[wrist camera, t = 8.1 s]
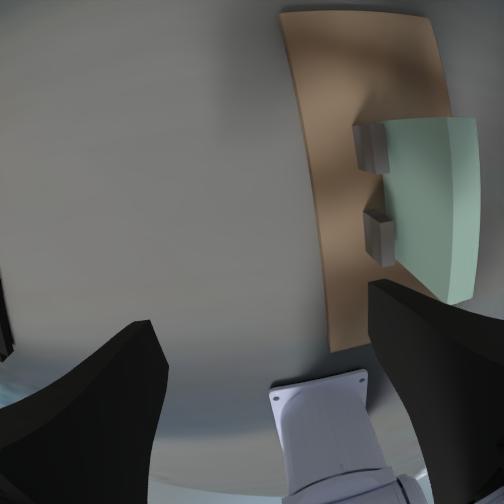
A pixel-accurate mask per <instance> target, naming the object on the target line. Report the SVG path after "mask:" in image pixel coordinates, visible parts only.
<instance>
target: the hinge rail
mask: <svg viewBox="0 0 504 504" xmlns="http://www.w3.org/2000/svg"><path fill="white" fill-rule="evenodd" d="M278 20H279V24H280V28H281V32H282V36H283V40H284V45H285V49H286V53H287V57H288V62H289V66H290V71H291V75H292V80H293V85H294V90H295V95H296V100H297V105H298V110H299V115H300V120H301V126H302V131H303V137H304V142H305V148H306V154H307V160H308V166H309V172H310V179H311V185H312V192H313V199H314V206H315V213H316V221H317V229H318V237H319V245H320V254H321V263H322V272H323V282H324V292H325V303H326V315H327V328H328V342H329V348H330V351H331V353H332V352H336V351H341V350H345V349H349V348H353V347H357V346H361V345H365V344H369V343H371V340H370V338H369V335H368V282H371V281H375V280H380V279H384V278H385V279H388V280H391V281H394V282H396V283H399V284H401V285H404V286H406V287H408V288H410V289H413V290H415V291H417V292H420V293H422V294H424V295H426V296H429V297H431V298H434V299H436V300H438V301H440V300H439V299H438V298H437V297H436V296H435V295H434V294H433V293H432V292H431V291H430V290H429V289H428V288H427V287H426V286H425V285H424V284H423V283H421V282H420V281H419V280H418V279H417V278H416V277H415V276H414V275H413V274H412V273H411V272H409V271H408V270H407V269H406V268H405V267H404V266H403V265H402V264H401V263H399V262H398V261H397V260H396V259H395V243H394V221H393V220H392V219H390V218H388V217H387V216H386V209H385V195H384V184H383V174H385V173H390V166H389V157H388V149H387V141H386V134H385V127H384V123H379V124H376V121H387V120H399V119H413V118H432V117H451V110H450V104H449V98H448V92H447V87H446V81H445V77H444V72H443V67H442V63H441V59H440V55H439V51H438V47H437V43H436V39H435V36H434V32H433V29H432V26H431V22H430V19H429V18H425V17H419V16H412V15H404V14H395V13H385V12H371V11H345V10H326V11H300V12H286V13H279V16H278Z"/></svg>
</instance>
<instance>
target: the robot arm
mask: <svg viewBox="0 0 504 504" xmlns="http://www.w3.org/2000/svg"><path fill="white" fill-rule="evenodd" d="M368 335H369V338H370V340H371V343H372V346H373V348H374V351H375V353H376V355H377V358H378V359H379V361H380V363H381V365H382V367H383V368H384V370H385V372H386V374H387V375H388V377H389V379H390V381H391V382H392V384H393V386H394V388H395V390H396V391H397V393H398V395H399V397H400V399H401V400H402V402H403V404H404V406H405V408H406V410H407V412H408V414H409V417H410V420H411V422H412V425H413V428H414V430H415V433H416V436H417V439H418V442H419V445H420V448H421V451H422V454H423V457H424V461H425V464H426V468H427V472H428V476H429V480H430V484H431V488H432V493H433V498H434V504H504V320H500V319H496V318H491V317H487V316H483V315H480V314H476V313H472V312H469V311H466V310H463V309H460V308H457V307H454V306H452V305H449V304H446V303H443V302H441V301H438V300H436V299H434V298H431V297H429V296H426V295H424V294H422V293H420V292H417V291H415V290H413V289H410V288H408V287H406V286H404V285H401V284H399V283H396V282H394V281H391V280H388V279H385V278H384V279H380V280H375V281H371V282H368ZM168 371H169V365H168V363H167V360H166V358H165V356H164V353H163V351H162V348H161V346H160V344H159V341H158V339H157V336H156V334H155V331H154V329H153V326H152V324H151V321H150V320H143V321H134V322H133V323H131V324H129V325H128V326H126V327H125V328H124V329H122V330H121V331H120V332H119V333H117V334H116V335H115V336H114V337H113V338H111V339H110V340H109V341H108V342H106V343H105V344H104V345H103V346H102V347H100V348H99V349H98V350H97V351H96V352H94V353H93V354H92V355H91V356H89V357H88V358H87V359H85V360H84V361H83V362H82V363H80V364H79V365H78V366H76V367H75V368H74V369H72V370H71V371H70V372H68V373H67V374H65V375H64V376H63V377H61V378H60V379H58V380H56V381H55V382H53V383H52V384H50V385H49V386H47V387H45V388H43V389H42V390H40V391H38V392H36V393H34V394H32V395H30V396H28V397H26V398H24V399H22V400H20V401H18V402H16V403H13V404H11V405H9V406H6V407H3V408H1V409H0V504H147V496H148V493H147V492H148V476H149V466H150V456H151V450H152V445H153V440H154V436H155V433H156V429H157V425H158V421H159V417H160V413H161V410H162V406H163V402H164V398H165V394H166V389H167V381H168ZM362 378H363V379H362ZM360 379H361V380H360ZM367 382H368V372H367V370H365V369H360V370H356V371H352V372H348V373H344V374H340V375H336V376H331V377H327V378H322V379H317V380H313V381H308V382H303V383H297V384H292V385H286V386H281V387H275V388H272V389H270V390H269V397H270V401H271V405H272V409H273V413H274V418H275V422H276V426H277V430H278V434H279V438H280V442H281V446H282V450H283V451H284V460H285V468H286V477H287V486H288V495H289V497H285V498H282V504H428V503H427V501H426V498H425V496H424V493H423V491H422V489H421V487H420V485H419V483H418V482H417V481H416V479H414V478H412V477H409V476H407V475H406V474H402V475H400V476H397V477H395V474H394V471H393V469H392V467H391V466H390V467H387V464H386V461H385V459H384V456H383V453H382V450H381V448H380V445H379V442H378V440H377V437H376V434H375V432H374V429H373V427H372V424H371V421H370V419H369V416H368V414H367V411H366V408H365V407H366V396H367Z"/></svg>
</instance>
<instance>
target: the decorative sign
mask: <svg viewBox="0 0 504 504" xmlns="http://www.w3.org/2000/svg"><path fill="white" fill-rule="evenodd" d="M13 351H14V350H13V346H12V342H11V337H10V333H9V328H8V323H7V318H6V313H5V307H4V301H3V295H2V288H1V280H0V362H2V363H3V361H4V360H5V359H6V358H7V356H8V357H9V355H10V354H11V353H12V352H13Z"/></svg>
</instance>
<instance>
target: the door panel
mask: <svg viewBox="0 0 504 504" xmlns="http://www.w3.org/2000/svg"><path fill="white" fill-rule="evenodd" d="M379 123H384V127H385V134H386V141H387V149H388V157H389V166H390V173H385V174H383V184H384V195H385V209H386V216H387V217H388V218H390V219H392V220H393V221H394V243H395V259H396V260H397V261H398V262H399V263H401V264H402V265H403V266H404V267H405V268H406V269H407V270H408V271H409V272H411V273H412V274H413V275H414V276H415V277H416V278H417V279H418V280H419V281H420V282H421V283H423V284H424V285H425V286H426V287H427V288H428V289H429V290H430V291H431V292H432V293H433V294H434V295H435V296H436V297H437V298H438V299H439V300H440V301H441V302H443V303H446V304H449V305H453V304H456V303H459V302H462V301H465V300H468V299H471V298H472V296H473V290H474V283H475V275H476V267H477V257H478V246H479V231H480V162H479V148H478V137H477V127H476V119H475V118H471V117H432V118H413V119H399V120H387V121H376V124H379Z"/></svg>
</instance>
